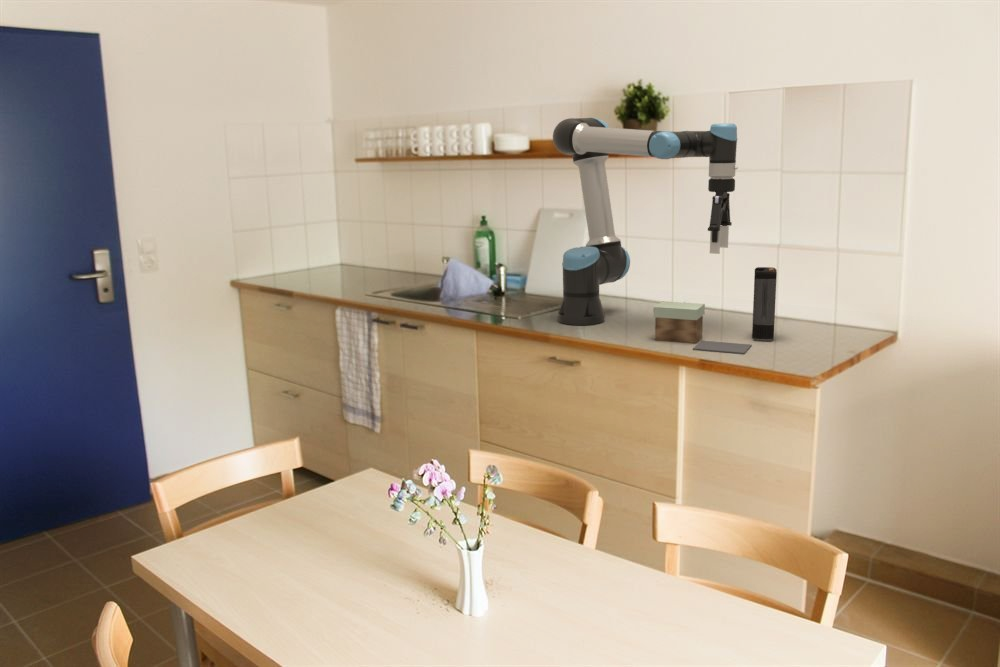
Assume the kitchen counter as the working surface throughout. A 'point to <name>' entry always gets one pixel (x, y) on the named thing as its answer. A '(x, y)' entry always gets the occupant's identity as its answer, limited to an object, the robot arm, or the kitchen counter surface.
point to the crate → (678, 330)
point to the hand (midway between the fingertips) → (719, 250)
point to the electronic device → (764, 304)
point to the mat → (722, 347)
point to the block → (679, 310)
